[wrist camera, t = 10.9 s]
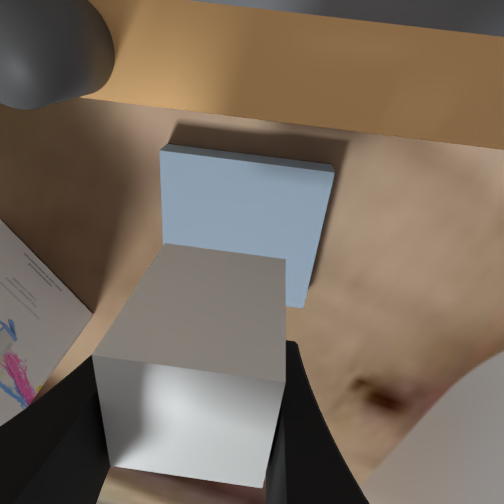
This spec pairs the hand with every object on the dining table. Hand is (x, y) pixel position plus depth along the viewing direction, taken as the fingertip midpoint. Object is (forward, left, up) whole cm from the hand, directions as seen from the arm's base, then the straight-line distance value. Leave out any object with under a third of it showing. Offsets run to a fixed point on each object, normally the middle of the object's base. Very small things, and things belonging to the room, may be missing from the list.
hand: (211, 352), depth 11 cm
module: (0, -1, -2) cm, 2 cm away
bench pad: (0, 0, -9) cm, 9 cm away
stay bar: (-1, -8, -3) cm, 9 cm away
